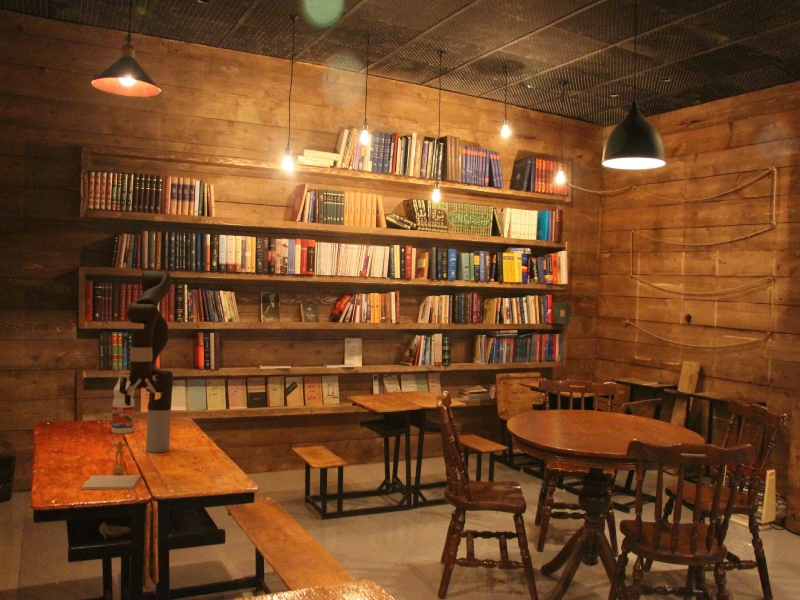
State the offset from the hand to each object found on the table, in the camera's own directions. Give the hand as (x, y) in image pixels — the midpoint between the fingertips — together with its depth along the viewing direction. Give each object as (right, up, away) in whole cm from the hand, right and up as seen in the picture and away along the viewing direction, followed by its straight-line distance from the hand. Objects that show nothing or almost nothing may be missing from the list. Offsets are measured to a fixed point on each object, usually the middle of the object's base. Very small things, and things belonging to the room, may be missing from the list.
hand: (139, 404), depth 256 cm
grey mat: (-5, -25, -13) cm, 29 cm away
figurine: (-7, -25, -2) cm, 26 cm away
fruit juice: (-35, -24, +74) cm, 85 cm away
